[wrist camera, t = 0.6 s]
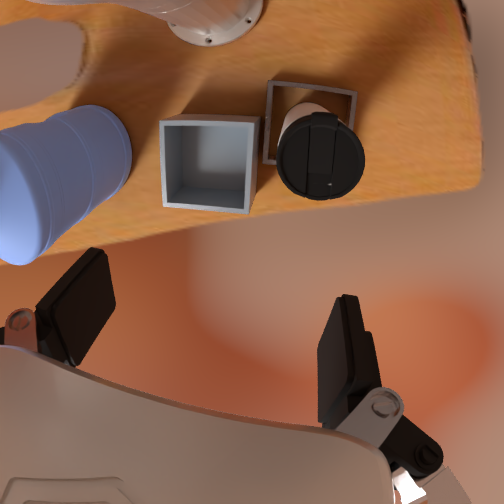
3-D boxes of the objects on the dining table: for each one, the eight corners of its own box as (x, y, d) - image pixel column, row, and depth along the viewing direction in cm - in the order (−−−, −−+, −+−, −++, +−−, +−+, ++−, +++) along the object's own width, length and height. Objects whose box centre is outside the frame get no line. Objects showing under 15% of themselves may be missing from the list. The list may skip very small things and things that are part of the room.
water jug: (152, 136, 39) (-1, 226, 16) (110, 215, 47) (-2, 329, 23) (79, 87, 36) (-79, 133, 12) (48, 166, 43) (-74, 246, 20)
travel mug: (334, 101, 34) (372, 118, 17) (331, 150, 37) (361, 211, 21) (284, 98, 35) (275, 109, 18) (283, 147, 38) (273, 204, 21)
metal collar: (269, 80, 34) (268, 80, 32) (353, 91, 33) (357, 91, 31) (264, 158, 39) (262, 163, 37) (343, 168, 38) (346, 173, 36)
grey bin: (180, 113, 37) (159, 120, 31) (260, 116, 36) (254, 122, 30) (181, 187, 43) (162, 206, 37) (255, 193, 42) (248, 214, 36)
